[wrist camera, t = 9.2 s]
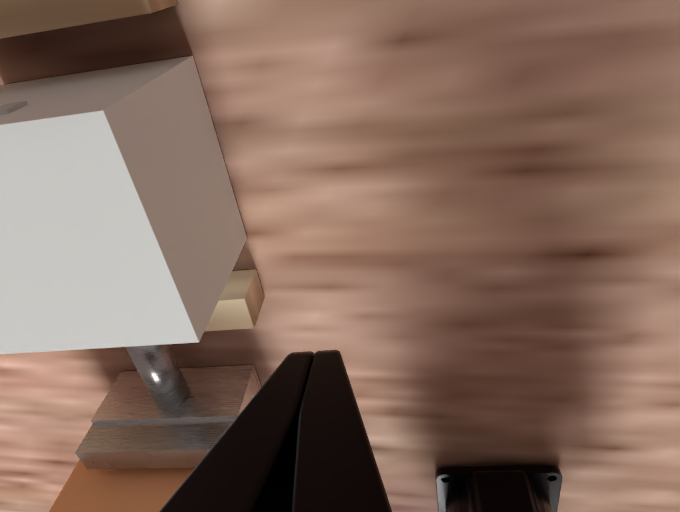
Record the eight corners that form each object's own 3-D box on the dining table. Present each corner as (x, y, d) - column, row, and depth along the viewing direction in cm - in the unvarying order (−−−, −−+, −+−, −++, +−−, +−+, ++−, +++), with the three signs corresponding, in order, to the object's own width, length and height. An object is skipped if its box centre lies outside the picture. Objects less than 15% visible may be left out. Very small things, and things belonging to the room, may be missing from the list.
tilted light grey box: (247, 240, 20) (199, 344, 15) (90, 255, 21) (-5, 356, 16) (192, 52, 16) (101, 105, 11) (1, 81, 17) (-162, 143, 12)
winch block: (284, 453, 27) (268, 536, 23) (168, 456, 28) (134, 535, 25) (231, 299, 21) (198, 377, 18) (87, 310, 22) (26, 385, 19)
